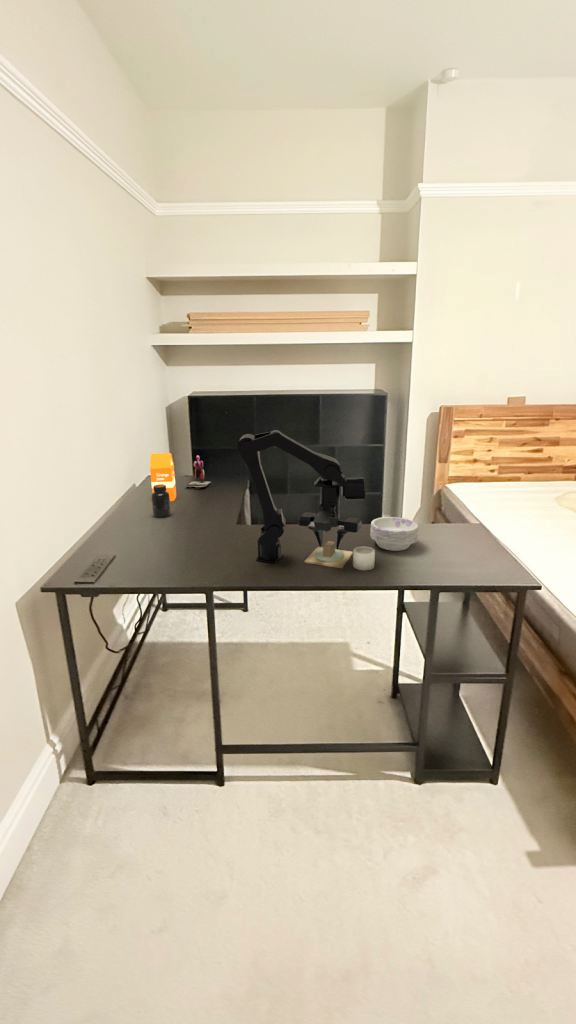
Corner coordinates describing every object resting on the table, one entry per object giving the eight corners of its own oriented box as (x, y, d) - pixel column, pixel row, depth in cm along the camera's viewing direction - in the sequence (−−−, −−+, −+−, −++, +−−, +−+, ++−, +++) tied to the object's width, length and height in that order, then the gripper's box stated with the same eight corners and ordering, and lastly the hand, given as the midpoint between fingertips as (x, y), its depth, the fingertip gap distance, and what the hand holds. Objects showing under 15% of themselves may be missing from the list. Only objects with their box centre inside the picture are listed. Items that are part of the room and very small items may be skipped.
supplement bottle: (149, 517, 205) (146, 487, 201) (159, 511, 211) (156, 482, 207) (165, 518, 203) (162, 488, 199) (174, 513, 209) (171, 484, 205)
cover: (310, 559, 162) (310, 547, 161) (320, 549, 170) (320, 537, 169) (338, 563, 159) (339, 551, 157) (347, 552, 167) (347, 541, 165)
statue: (192, 485, 252) (190, 454, 249) (211, 486, 250) (209, 454, 247) (184, 489, 241) (182, 456, 238) (203, 489, 240) (202, 456, 237)
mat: (304, 562, 161) (304, 560, 161) (317, 548, 172) (317, 546, 172) (342, 568, 157) (342, 566, 157) (353, 553, 167) (353, 551, 167)
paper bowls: (418, 540, 178) (420, 517, 175) (414, 557, 164) (416, 533, 162) (373, 535, 182) (374, 514, 180) (366, 552, 169) (367, 528, 166)
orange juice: (156, 496, 231) (152, 451, 225) (176, 495, 232) (172, 451, 225) (153, 501, 224) (148, 455, 217) (174, 501, 224) (170, 455, 218)
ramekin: (350, 568, 157) (350, 552, 155) (356, 560, 162) (356, 545, 161) (371, 571, 154) (372, 555, 153) (376, 563, 160) (377, 548, 159)
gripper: (291, 504, 155) (291, 553, 160) (352, 511, 148) (351, 562, 153) (304, 494, 165) (304, 540, 169) (362, 500, 158) (361, 548, 163)
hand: (329, 547), depth 163 cm, fingers open, 5 cm apart
